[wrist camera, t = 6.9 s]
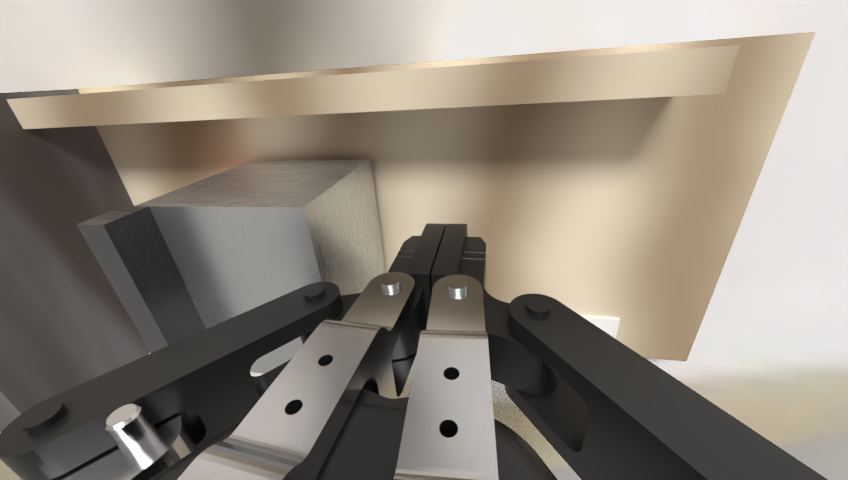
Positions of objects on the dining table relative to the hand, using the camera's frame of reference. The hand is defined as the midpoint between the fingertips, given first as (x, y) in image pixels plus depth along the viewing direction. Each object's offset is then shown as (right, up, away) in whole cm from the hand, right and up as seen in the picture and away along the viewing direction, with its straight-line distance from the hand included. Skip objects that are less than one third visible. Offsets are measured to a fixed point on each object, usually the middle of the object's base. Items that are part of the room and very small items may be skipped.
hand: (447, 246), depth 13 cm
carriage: (-5, +1, +2) cm, 6 cm away
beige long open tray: (-4, +1, +3) cm, 5 cm away
